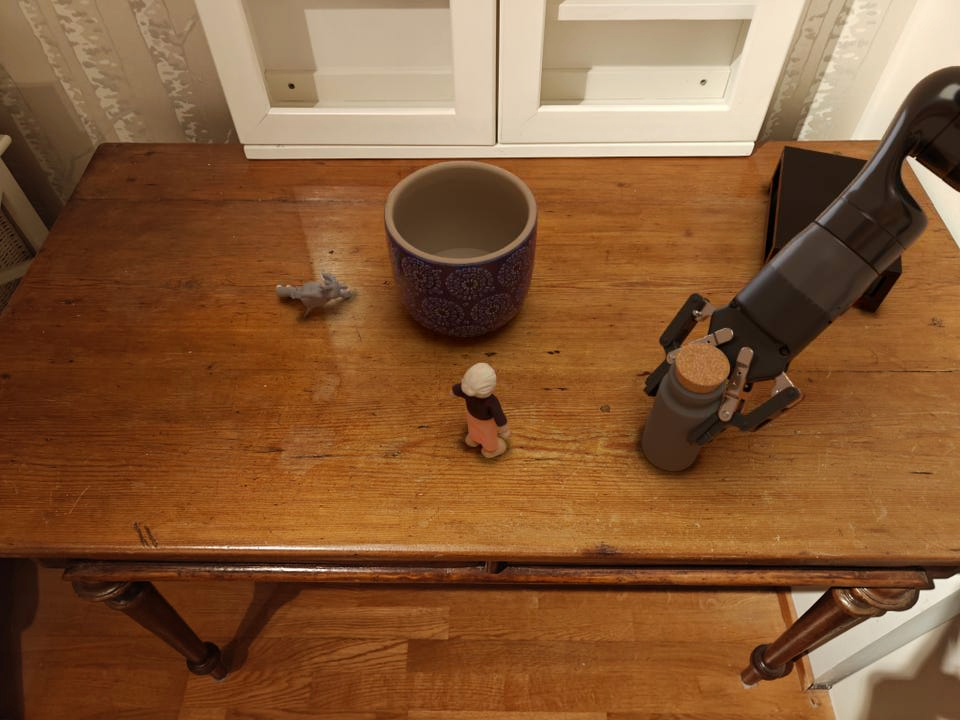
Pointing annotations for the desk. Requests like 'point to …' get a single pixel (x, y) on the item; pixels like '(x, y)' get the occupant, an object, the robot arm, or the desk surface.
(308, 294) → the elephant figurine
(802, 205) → the stand
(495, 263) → the planter
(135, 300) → the desk surface
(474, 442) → the grandmother figurine
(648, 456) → the bottle
